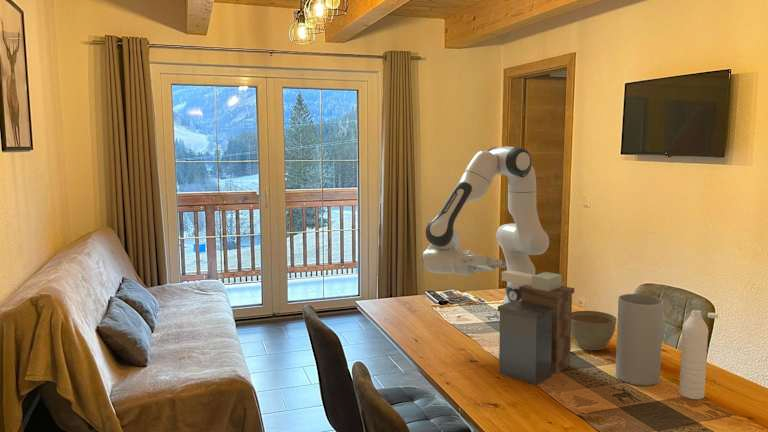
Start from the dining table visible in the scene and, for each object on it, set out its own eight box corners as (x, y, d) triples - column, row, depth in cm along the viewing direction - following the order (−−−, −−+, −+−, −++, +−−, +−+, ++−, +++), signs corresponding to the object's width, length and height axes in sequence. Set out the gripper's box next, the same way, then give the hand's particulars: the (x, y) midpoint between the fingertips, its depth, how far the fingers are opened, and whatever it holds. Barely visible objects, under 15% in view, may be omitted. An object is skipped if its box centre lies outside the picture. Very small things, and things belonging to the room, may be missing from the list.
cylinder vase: (656, 390, 169) (660, 307, 166) (611, 381, 176) (614, 301, 172) (662, 374, 180) (666, 297, 176) (619, 367, 186) (622, 291, 183)
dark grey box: (514, 364, 190) (515, 299, 187) (553, 376, 180) (554, 308, 177) (496, 373, 183) (497, 306, 180) (535, 386, 173) (537, 315, 170)
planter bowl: (622, 345, 205) (623, 315, 204) (604, 358, 194) (605, 327, 192) (579, 335, 216) (580, 307, 215) (559, 347, 205) (560, 317, 203)
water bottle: (675, 394, 166) (679, 310, 162) (683, 387, 170) (688, 305, 167) (708, 404, 159) (714, 317, 156) (716, 397, 164) (721, 312, 161)
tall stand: (534, 354, 198) (535, 281, 194) (572, 365, 188) (574, 288, 184) (518, 362, 191) (519, 286, 188) (556, 374, 181) (558, 294, 178)
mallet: (511, 277, 200) (511, 266, 200) (561, 286, 187) (561, 274, 186) (498, 281, 195) (498, 269, 194) (548, 291, 181) (548, 279, 181)
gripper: (459, 250, 201) (499, 251, 196) (472, 256, 220) (508, 257, 215) (458, 268, 200) (498, 269, 195) (471, 273, 218) (508, 274, 213)
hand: (504, 263), depth 205 cm, fingers open, 8 cm apart
